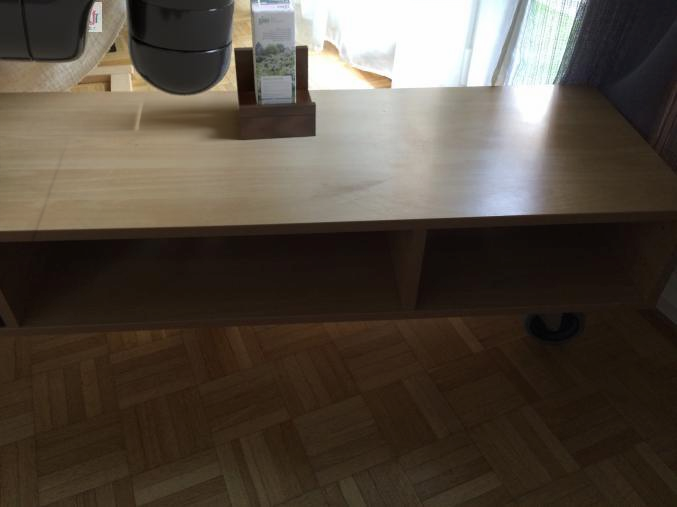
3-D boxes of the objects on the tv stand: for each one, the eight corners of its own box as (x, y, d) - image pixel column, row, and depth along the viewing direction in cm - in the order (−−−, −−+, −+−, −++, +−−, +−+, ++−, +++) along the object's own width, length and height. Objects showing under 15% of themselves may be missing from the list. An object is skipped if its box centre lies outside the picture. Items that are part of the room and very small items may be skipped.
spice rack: (241, 139, 90) (236, 74, 83) (238, 109, 97) (233, 47, 91) (315, 135, 91) (316, 71, 85) (307, 106, 99) (307, 45, 92)
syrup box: (292, 92, 94) (290, -6, 85) (296, 109, 90) (295, 8, 81) (255, 94, 94) (249, -5, 84) (257, 111, 89) (251, 9, 80)
